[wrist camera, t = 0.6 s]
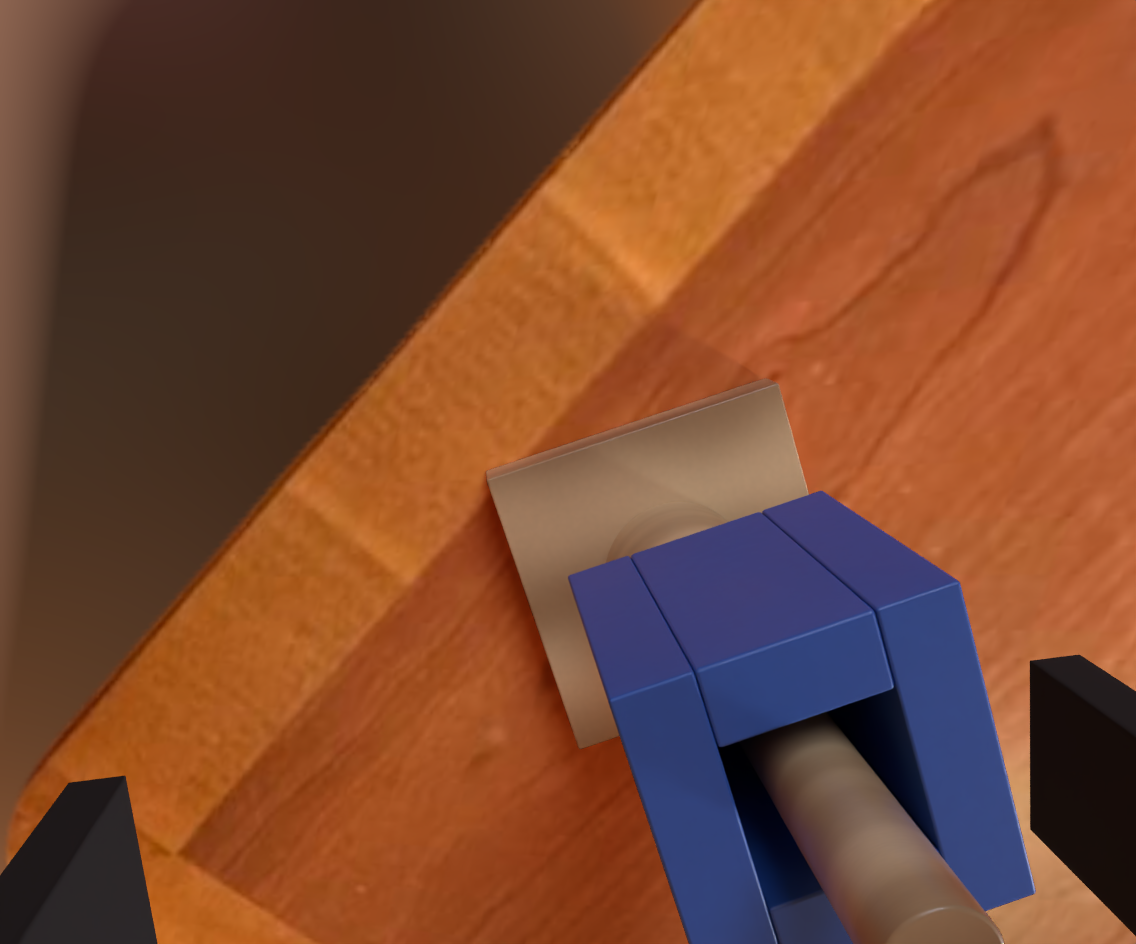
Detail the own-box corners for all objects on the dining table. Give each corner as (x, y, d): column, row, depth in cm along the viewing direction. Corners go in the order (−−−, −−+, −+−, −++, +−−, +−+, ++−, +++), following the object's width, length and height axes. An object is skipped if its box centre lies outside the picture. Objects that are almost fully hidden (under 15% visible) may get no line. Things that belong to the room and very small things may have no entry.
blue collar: (566, 575, 28) (607, 700, 20) (821, 489, 28) (961, 580, 20) (644, 808, 29) (711, 1009, 22) (886, 725, 30) (1038, 894, 22)
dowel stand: (485, 470, 36) (519, 786, 15) (765, 377, 37) (1198, 554, 15) (574, 731, 38) (717, 1334, 17) (838, 641, 39) (1307, 1123, 17)
